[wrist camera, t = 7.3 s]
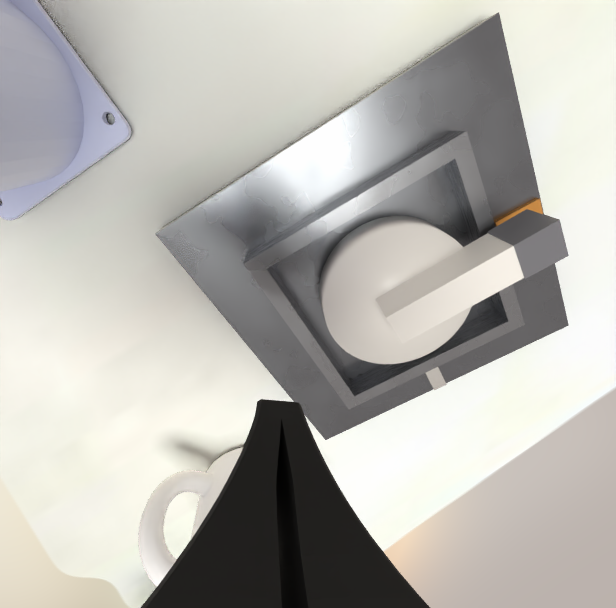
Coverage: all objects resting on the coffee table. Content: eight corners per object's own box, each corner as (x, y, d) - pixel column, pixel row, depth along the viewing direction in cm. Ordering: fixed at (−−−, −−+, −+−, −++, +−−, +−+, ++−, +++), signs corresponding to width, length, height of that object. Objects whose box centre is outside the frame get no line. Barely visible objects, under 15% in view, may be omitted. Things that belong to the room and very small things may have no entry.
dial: (360, 364, 22) (376, 409, 18) (291, 268, 18) (295, 301, 15) (527, 274, 20) (581, 305, 16) (485, 147, 16) (542, 152, 13)
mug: (141, 469, 27) (71, 649, 17) (199, 404, 24) (153, 574, 15) (265, 518, 31) (261, 683, 22) (326, 467, 28) (350, 629, 19)
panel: (162, 227, 18) (145, 242, 16) (483, 20, 15) (521, 0, 13) (323, 427, 26) (328, 457, 24) (555, 316, 23) (587, 338, 21)
